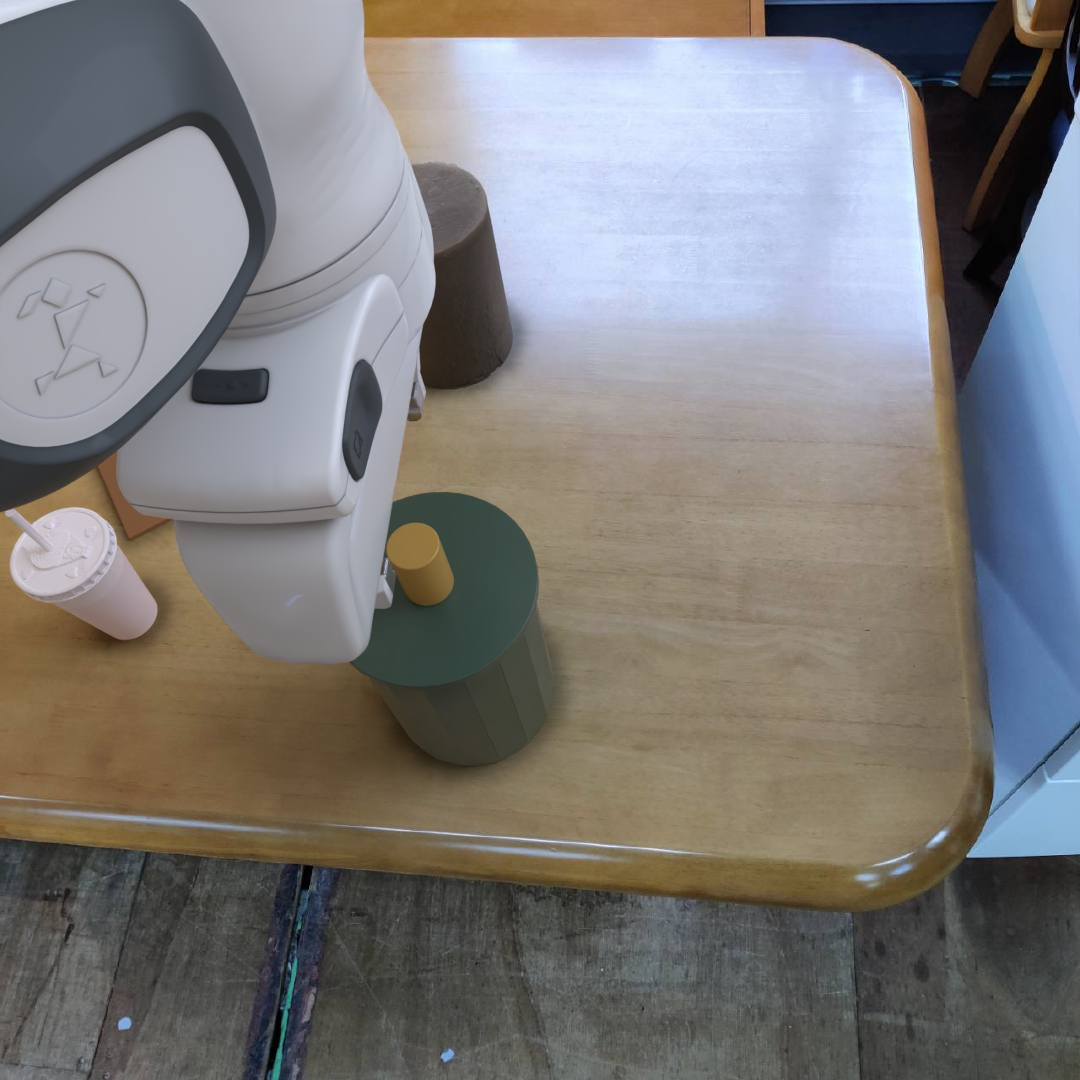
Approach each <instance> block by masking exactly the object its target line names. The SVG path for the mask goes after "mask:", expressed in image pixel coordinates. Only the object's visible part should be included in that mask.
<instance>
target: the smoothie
mask: <svg viewBox="0 0 1080 1080" xmlns="http://www.w3.org/2000/svg"><path fill="white" fill-rule="evenodd" d="M5 517H7V518H8V519H9V520H10V521H12V522H13V524H15V525H16V526H17V527H18V528H19V529H20V530H22V533H21V535H20V536H19V538H18V539H17V540H16V542H15V544H14V546H13V549H12V551H11V554H10V557H9V558H10V559H9V573H10V576H11V578H12V580H13V582H14V583H15V585H16V586H17V587H18V588H19V589H20V590H21V591H23V593H24V594H25V595H26V596H28V597H30V598H31V599H33V600H34V601H37V602H42V603H47V604H49V603H50V604H52V605H54V606H55V607H58V608H60V609H61V610H63V611H65V612H67V613H69V614H71V615H73V616H74V617H77V618H78V619H80V620H82V621H83V622H85V623H86V624H89V625H90V626H92V627H94V628H96V629H97V630H99V631H102V632H103V633H104V634H105V633H106V634H107V635H109V636H111V637H113V638H114V639H117V640H119V641H130V640H133V639H134V640H135V639H136V638H139V637H141V636H142V635H144V634H145V633H146V632H148V631H149V630H150V629H151V628H152V626H153V624H154V623H155V621H156V619H157V616H158V604H157V602H156V600H155V598H154V597H153V595H152V594H151V592H150V591H149V589H148V587H147V586H146V584H145V583H144V581H143V580H142V579H141V578H140V576H139V574H138V573H137V571H136V570H135V568H134V567H133V565H132V564H131V562H130V561H129V559H128V558H127V556H126V555H125V553H124V552H123V550H122V549H121V547H120V546H119V545H118V542H117V541H118V540H117V539H118V537H117V535H116V533H115V529H114V528H113V526H112V525H111V524H110V523H109V522H108V521H107V519H104V518H103V517H102V516H101V515H100V514H99V513H97V512H96V511H94V510H91V509H89V508H85V507H80V506H79V507H78V506H72V507H71V506H69V507H63V508H59V509H56V510H54V511H51V512H49V513H47V514H45V515H43V516H41V517H40V518H38V519H36V520H35V521H33V522H32V523H30V522H29V521H28V520H27V519H26V518H25V517H23V515H21V514H20V513H19V512H18V511H17V510H16V509H15V508H14V509H10V510H7V511H5Z"/></svg>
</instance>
